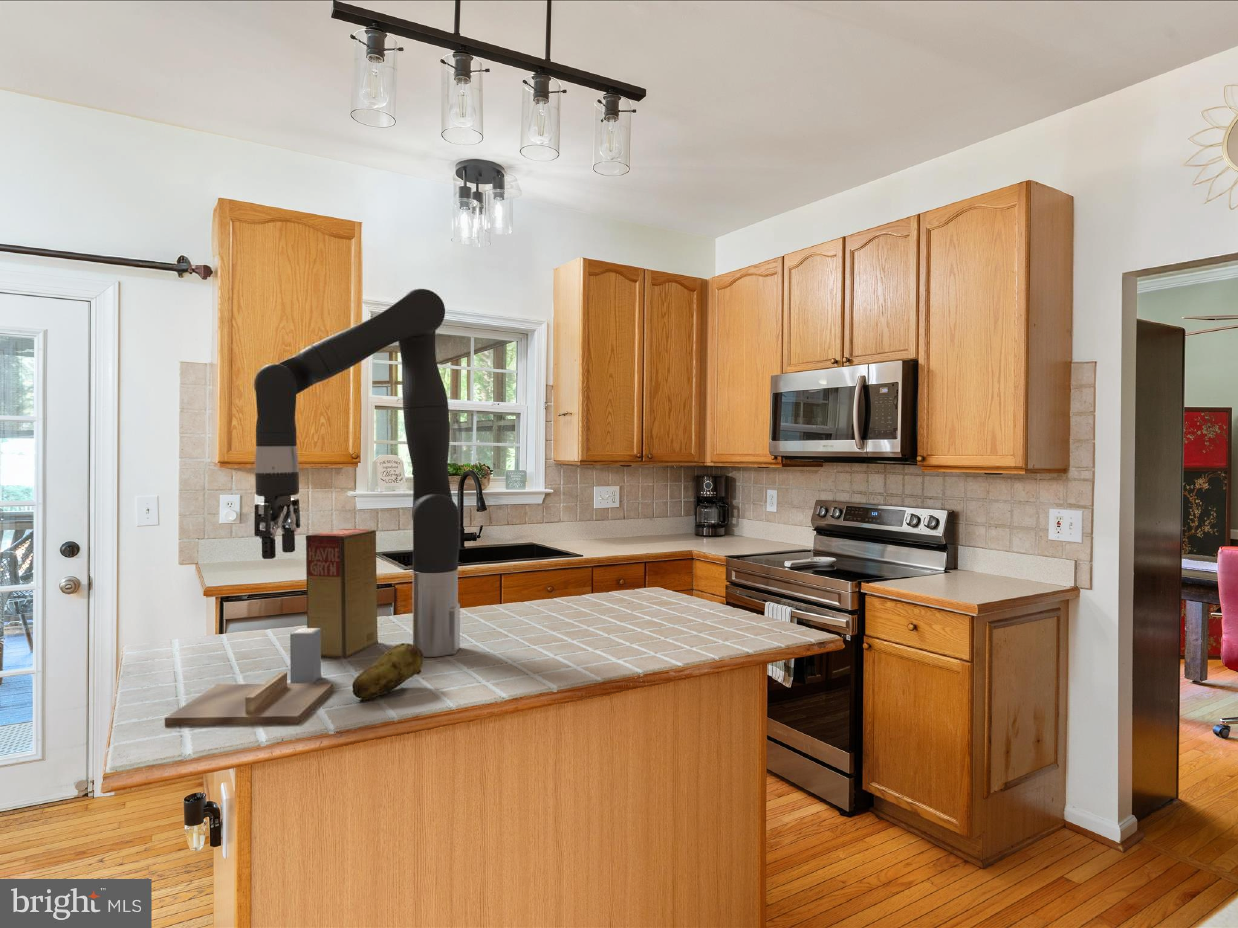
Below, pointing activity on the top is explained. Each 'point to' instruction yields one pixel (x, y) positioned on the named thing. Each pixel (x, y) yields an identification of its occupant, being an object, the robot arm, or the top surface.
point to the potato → (389, 671)
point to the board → (252, 703)
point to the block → (305, 655)
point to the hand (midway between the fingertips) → (279, 555)
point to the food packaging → (342, 590)
